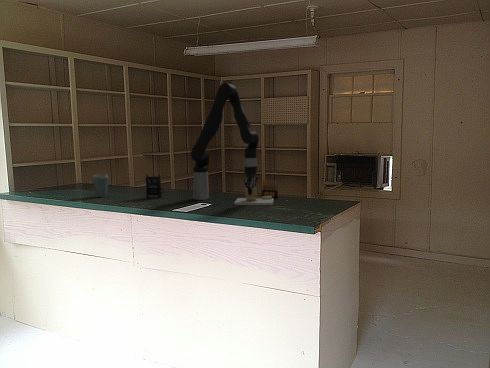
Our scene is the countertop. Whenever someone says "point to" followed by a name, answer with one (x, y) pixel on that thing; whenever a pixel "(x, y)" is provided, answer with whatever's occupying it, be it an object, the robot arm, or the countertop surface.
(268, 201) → the base plate
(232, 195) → the countertop surface
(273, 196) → the ammunition clip
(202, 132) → the robot arm
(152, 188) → the geiger counter
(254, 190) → the levelling knob
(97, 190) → the disposable coffee cup
